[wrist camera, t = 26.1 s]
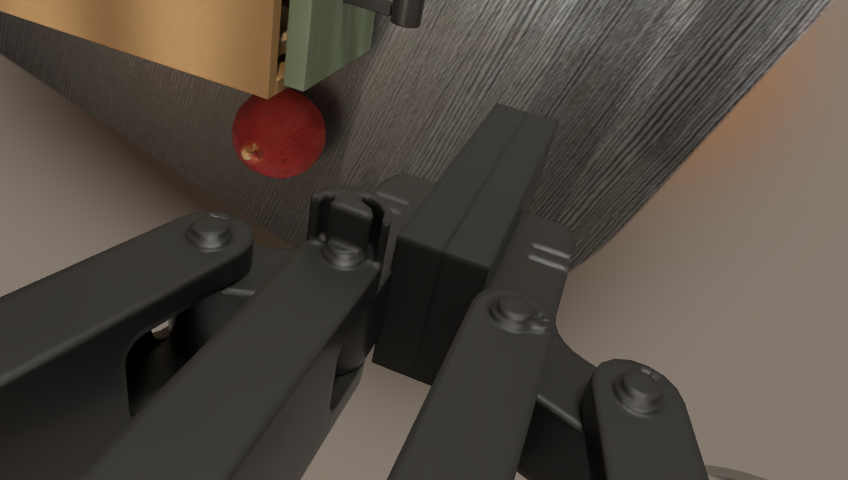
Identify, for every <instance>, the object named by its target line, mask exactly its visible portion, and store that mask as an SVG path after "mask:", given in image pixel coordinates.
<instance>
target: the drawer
mask: <svg viewBox="0 0 848 480" xmlns="http://www.w3.org/2000/svg"><path fill="white" fill-rule="evenodd" d="M424 3H425V0H393V2H390V1H386V0H282V3H281V18H280V32H279V47H278V56H280V55H282V54H284V53H286V56H285V70H284V83H283V85H284V86H287V87H290V88H293V89H297V90H300V91H303V92H304V91H306V90H307V89H309V88H310V87H312V86H314V85H315V84H317V83H318V82H320V81H322V80H323V79H325V78H326V77H328V76H330V75H331V74H333V73H334V72H336V71H338V70H339V69H341V68H343V67H344V66H346V65H347V64H349V63H351V62H352V61H354V60H355V59H357V58H359V57H360V56H362V55H363V54H365V53H367V52H368V51H370V47H371V40H372V33H373V26H374V19H375V13H376V12H377V13H380V14H384V15H387V16H390V15H391V17H390V20H391V22H392V23H394V24H395V25H398V26H401V27H405V28H418V27H419V26H420V24H421V19H422V14H423V8H424Z"/></svg>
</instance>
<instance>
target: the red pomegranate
mask: <svg viewBox="0 0 848 480" xmlns="http://www.w3.org/2000/svg"><path fill="white" fill-rule="evenodd" d="M232 138H233V146H234V148H235V150H236V152H237V155H238V157H239V159H240V160H241V161H242V162H243V163H244V164H245V165H246V166H247V167H248V168H249V169H250V170H252V171H255V172H257V173H260V174H262V175H265V176H268V177H274V178H280V179H284V178H288V177H292V176H295V175H299V174H302V173H303V172H304V171H306V170H307V169H308V168H309V167H310V166H312V165H313V164H314V163H315V162H316V161H317V160H318V158H319V157H320V155H321V153H322V150H323V148H324V145H325V123H324V120H323V117H322V115H321V112H320V110H319V109H318V108H317V107H316V106H315V105H314V103H313V102H312V101H311V100H310V99H308V98H307V97H305V96H304V95H302V94H301V93H299V92H297V91H295V90H292V89H288V88H286V89H284V90H283V91H281V92H279V93H277V94H275V95H274V96H273V97H271V98H269V99H265V98H262V97H259V96H256V95H252V96H251V97H250V98H249V99H248V100H247V101H246V102H245V103H244V104H243V105H242V106H241V107H240V108H239V110H238V112H237V114H236V117H235V120H234V123H233V127H232Z"/></svg>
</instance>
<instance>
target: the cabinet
mask: <svg viewBox="0 0 848 480" xmlns="http://www.w3.org/2000/svg"><path fill="white" fill-rule="evenodd" d="M281 3H282V0H0V11H1V12H4V13H8V14H11V15H14V16H17V17H20V18H23V19H26V20H29V21H32V22H35V23H38V24H41V25H44V26H47V27H50V28H53V29H56V30H59V31H62V32H65V33H68V34H71V35H74V36H77V37H80V38H83V39H86V40H89V41H92V42H95V43H98V44H101V45H104V46H107V47H110V48H114V49H117V50H120V51H123V52H126V53H129V54H132V55H135V56H138V57H141V58H144V59H147V60H150V61H153V62H156V63H159V64H162V65H165V66H168V67H171V68H174V69H177V70H180V71H183V72H186V73H189V74H192V75H195V76H198V77H201V78H204V79H207V80H210V81H213V82H216V83H220V84H223V85H226V86H229V87H232V88H235V89H238V90H241V91H244V92H247V93H250V94H253V95H256V96H259V97H262V98H265V99H269V98H271V97H273V96H274V95H275V94H277V93H279V92H281V91H283V90H284V89H286V88H288V87H287V86H284V85H283V83H284V70H285V56H286V53H284V54H282V55H280V56H278V47H279V32H280V18H281Z"/></svg>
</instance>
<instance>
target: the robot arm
mask: <svg viewBox="0 0 848 480" xmlns="http://www.w3.org/2000/svg"><path fill="white" fill-rule="evenodd" d="M557 125H558V122H557V121H553V120H550V119H547V118H544V117H540V116H537V115H534V114H531V113H528V112H524V111H521V110H518V109H515V108H511V107H508V106H505V105H502V104H499V103H496V105H495V106H494V107H493V109H492V110H491V111H490V113H489V114H488V115H487V117H486V118H485V119H484V121H483V122H482V123H481V125H480V126H479V127H478V129H477V130H476V131H475V132H474V134H473V135H472V136H471V138H470V139H469V140H468V142H467V143H466V144H465V146H464V147H463V148H462V150H461V151H460V152H459V154H458V155H457V156H456V158H455V159H454V160H453V162H452V163H451V164H450V166H449V167H448V168H447V170H446V171H445V172H444V174H443V175H442V176H441V178H440V179H439V180H438V182H437V183H433V182H430V181H427V180H424V179H421V178H418V177H415V176H412V175H409V174H406V173H401V174H398V175H395V176H393V177H390V178H387V179H385V180H384V181H383V182H382V183H381V184H380V185H379V186H378V187H377V188H376V189H375V190H374V193H372V194H371V193H369V192H366V191H362V190H358V189H353V188H331V189H326V190H321V191H320V192H318V193H316V194H314V195H313V196H311V205H310V215H309V224H308V233H307V240H306V241H305V242H304V243H303V244H302V245H301V246H300V247H299V248H298V249H284V248H275V247H269V246H262V245H255V244H253V242H254V235H253V232H252V230H251V227H250V226H249V225H248V224H246V223H245V222H244V221H243V220H242V219H240V218H237V217H235V216H232V215H230V214H225V213H219V212H197V213H193V214H189V215H186V216H183V217H180V218H177V219H175V220H173V221H171V222H168V223H166V224H164V225H162V226H159V227H157V228H155V229H153V230H150V231H149V232H146V233H144V234H141V235H139V236H137V237H135V238H133V239H130V240H128V241H126V242H123V243H121V244H119V245H117V246H115V247H112V248H110V249H108V250H105V251H103V252H101V253H99V254H96V255H94V256H92V257H90V258H87V259H85V260H83V261H81V262H79V263H76V264H74V265H72V266H70V267H67V268H65V269H63V270H61V271H58V272H56V273H54V274H52V275H49V276H47V277H45V278H43V279H40V280H38V281H36V282H34V283H31V284H29V285H27V286H25V287H22V288H20V289H18V290H16V291H13V292H11V293H9V294H7V295H4V296H2V297H0V480H300V479H301V477H302V476H303V474H304V473H305V471H306V469H307V468H308V466H309V464H310V463H311V461H312V460H313V458H314V456H315V455H316V453H317V451H318V450H319V448H320V446H321V445H322V443H323V442H324V440H325V438H326V437H327V435H328V433H329V432H330V430H331V428H332V427H333V425H334V424H335V422H336V420H337V418H338V417H339V415H340V414H341V412H342V410H343V409H344V407H345V405H346V403H347V402H348V401H349V399H350V397H351V396H352V394H353V392H354V391H355V389H356V387H357V386H358V384H359V382H360V379H361V376H362V372H363V367H364V362H365V358H366V357H367V355H368V354H369V352H370V350H371V349H372V347H373V346H374V344H375V348H374V353H373V358H372V362H373V363H375V364H378V365H380V366H383V367H385V368H388V369H390V370H393V371H395V372H398V373H400V374H403V375H405V376H408V377H410V378H413V379H415V380H418V381H421V382H423V383H426V384H428V385H431V388H430V391H429V393H428V395H427V397H426V399H425V401H424V403H423V406H422V407H421V409H420V411H419V414H418V416H417V418H416V420H415V422H414V424H413V426H412V428H411V430H410V432H409V434H408V436H407V439H406V441H405V443H404V445H403V447H402V449H401V451H400V453H399V455H398V458H397V459H396V462H395V464H394V466H393V468H392V470H391V472H390V474H389V476H388V478H387V480H514V479H515V475H516V471H517V472H518V473H519V474H521V475H522V476H523V477H525V478H526V479H527V480H709V478H708V475H707V472H706V469H705V466H704V463H703V460H702V456H701V453H700V450H699V447H698V444H697V441H696V437H695V434H694V431H693V428H692V424H691V421H690V418H689V415H688V412H687V409H686V405H685V403H684V401H683V399H682V397H681V395H680V394H679V392H678V390H677V388H676V387H674V385H673V384H672V383H671V382H670V381H669V380H668V379H667V378H666V377H665V376H663V375H662V374H660V373H658V372H657V371H655V370H654V369H652V368H650V367H649V366H646V365H644V364H641V363H638V362H635V361H632V360H623V359H612V360H609V361H606V362H602V363H601V364H600V365H599V366H598V367H595V366H594V365H592V364H591V363H589V362H587V361H586V360H584V359H583V358H581V357H580V356H578V354H576V353H575V352H573V351H572V350H571V349H570V348H569V347H568V346H567V344H565V342H564V341H563V339H562V338H561V336H560V335H559V333H558V331H557V327H556V314H557V310H558V307H559V303H560V299H561V296H562V292H563V289H564V285H565V282H566V278H567V274H568V270H569V267H570V263H571V259H572V256H573V253H574V249H575V245H576V241H575V239H574V237H573V234H572V232H571V229H570V227H569V226H566V225H563V224H560V223H557V222H554V221H551V220H548V219H545V218H542V217H539V216H536V215H533V214H530V213H529V210H530V207H531V204H532V201H533V198H534V195H535V192H536V189H537V186H538V183H539V179H540V176H541V173H542V170H543V167H544V164H545V161H546V158H547V155H548V152H549V149H550V146H551V143H552V140H553V137H554V134H555V131H556V128H557ZM167 320H168V323H169V326H167V327H166V328H164V329H162V330H161V331H157V332H154V333H152V331H151V330H152V329H153V328H155V327H157V326H159V325H160V324H162V323H164V322H165V321H167Z"/></svg>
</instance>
